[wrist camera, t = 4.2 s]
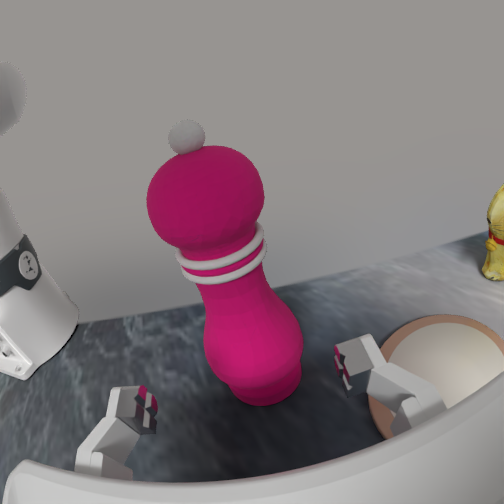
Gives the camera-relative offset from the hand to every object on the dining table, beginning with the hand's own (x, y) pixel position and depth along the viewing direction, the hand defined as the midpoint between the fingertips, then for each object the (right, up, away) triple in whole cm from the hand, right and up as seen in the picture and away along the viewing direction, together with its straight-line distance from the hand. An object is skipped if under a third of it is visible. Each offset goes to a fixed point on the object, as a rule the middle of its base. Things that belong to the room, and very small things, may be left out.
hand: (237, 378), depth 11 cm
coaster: (+16, -5, +6) cm, 18 cm away
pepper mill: (+2, -6, +12) cm, 13 cm away
